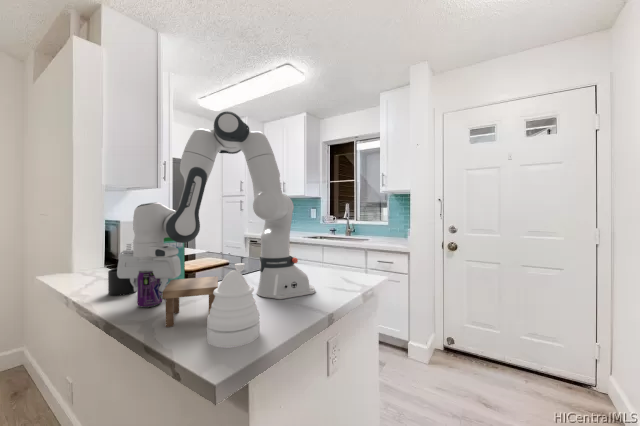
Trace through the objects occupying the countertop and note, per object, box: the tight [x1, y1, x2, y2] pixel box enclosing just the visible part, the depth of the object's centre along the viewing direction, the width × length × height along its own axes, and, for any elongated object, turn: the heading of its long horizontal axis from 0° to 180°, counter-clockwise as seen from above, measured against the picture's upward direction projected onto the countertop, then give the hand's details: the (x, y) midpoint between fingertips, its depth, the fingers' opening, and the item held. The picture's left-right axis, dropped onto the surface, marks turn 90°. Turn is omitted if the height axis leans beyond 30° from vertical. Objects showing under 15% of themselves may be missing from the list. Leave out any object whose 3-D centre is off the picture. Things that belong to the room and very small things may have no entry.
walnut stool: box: [162, 276, 219, 328], centre depth 85 cm, size 14×14×10 cm
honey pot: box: [206, 262, 261, 349], centre depth 72 cm, size 13×13×18 cm
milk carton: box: [162, 237, 186, 294], centre depth 115 cm, size 9×9×25 cm
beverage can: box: [136, 271, 163, 309], centre depth 95 cm, size 7×7×12 cm
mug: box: [107, 268, 135, 297], centre depth 110 cm, size 9×12×9 cm
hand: (149, 291), depth 95 cm, fingers closed on beverage can, 7 cm apart
